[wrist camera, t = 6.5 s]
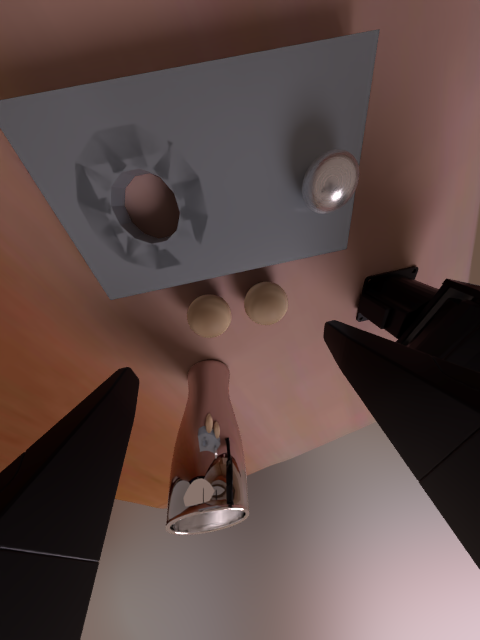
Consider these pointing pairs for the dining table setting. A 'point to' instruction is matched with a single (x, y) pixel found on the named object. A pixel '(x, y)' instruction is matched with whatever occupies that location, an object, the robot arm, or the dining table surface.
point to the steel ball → (330, 181)
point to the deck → (199, 159)
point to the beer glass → (207, 458)
